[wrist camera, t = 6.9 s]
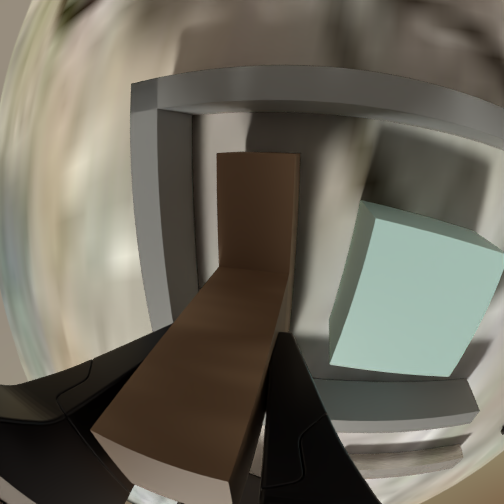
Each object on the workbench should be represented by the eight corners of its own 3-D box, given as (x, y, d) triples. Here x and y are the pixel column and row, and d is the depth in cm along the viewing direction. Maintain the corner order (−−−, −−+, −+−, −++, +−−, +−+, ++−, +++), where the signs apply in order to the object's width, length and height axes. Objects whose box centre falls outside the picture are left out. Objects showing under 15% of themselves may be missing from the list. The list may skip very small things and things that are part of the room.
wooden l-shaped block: (300, 153, 11) (199, 175, 2) (286, 355, 14) (239, 539, 5) (241, 151, 11) (1, 192, 2) (242, 349, 15) (168, 519, 6)
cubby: (531, 138, 7) (567, 141, 5) (458, 390, 13) (470, 423, 10) (168, 93, 11) (131, 83, 8) (190, 371, 17) (171, 404, 14)
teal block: (470, 229, 10) (508, 255, 7) (429, 333, 13) (448, 376, 9) (359, 198, 11) (375, 218, 8) (329, 317, 14) (329, 364, 10)
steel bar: (459, 441, 15) (463, 457, 14) (449, 452, 16) (452, 467, 14) (338, 450, 18) (337, 470, 16) (333, 460, 18) (332, 479, 17)
